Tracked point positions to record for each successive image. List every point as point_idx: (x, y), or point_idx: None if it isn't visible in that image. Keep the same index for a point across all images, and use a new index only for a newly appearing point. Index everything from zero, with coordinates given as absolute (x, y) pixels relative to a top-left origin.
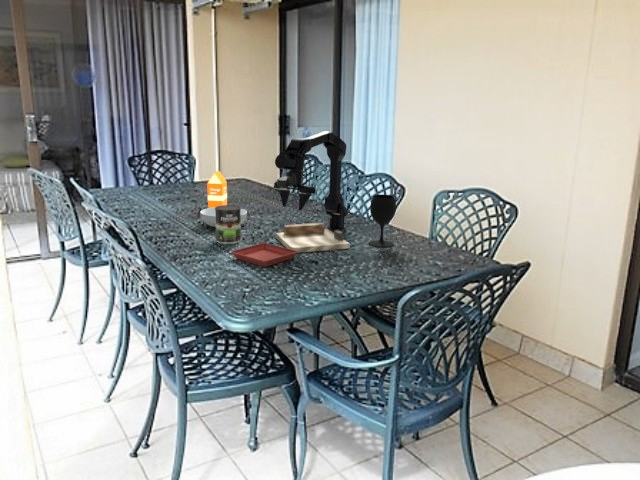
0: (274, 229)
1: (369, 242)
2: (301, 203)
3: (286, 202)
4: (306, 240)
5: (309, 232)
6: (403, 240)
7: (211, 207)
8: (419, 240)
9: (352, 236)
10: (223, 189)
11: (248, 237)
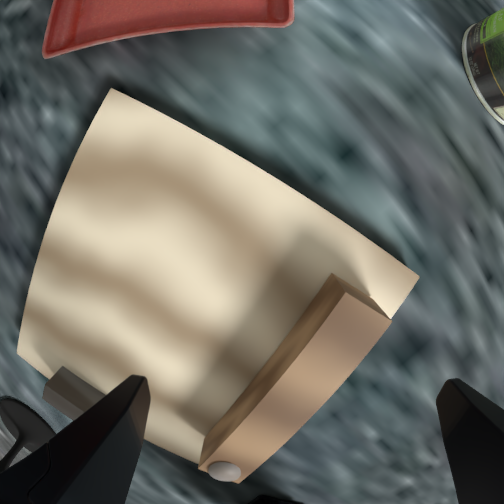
0: (473, 365)
1: (45, 427)
2: (60, 438)
3: (450, 450)
4: (156, 271)
5: (245, 392)
6: None
7: None
8: None
9: (147, 472)
10: None
11: (496, 175)
